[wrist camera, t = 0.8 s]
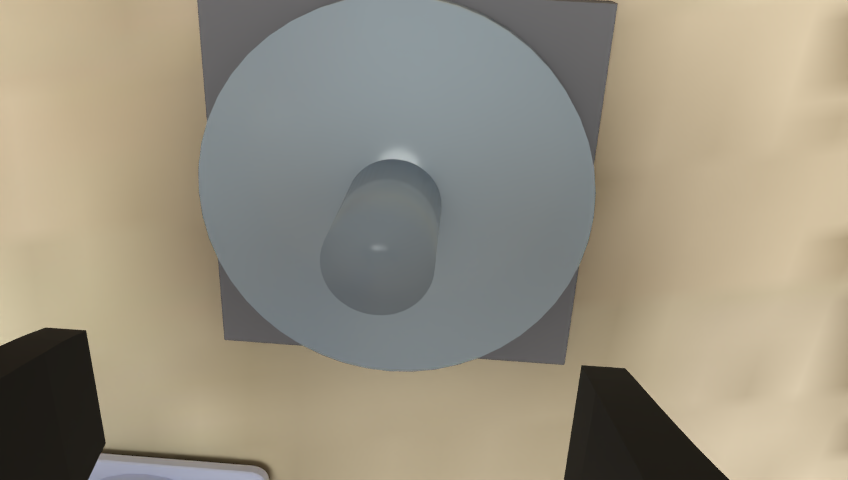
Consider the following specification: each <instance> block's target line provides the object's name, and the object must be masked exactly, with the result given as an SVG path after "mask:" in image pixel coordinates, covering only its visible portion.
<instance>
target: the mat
mask: <svg viewBox="0 0 848 480" xmlns="http://www.w3.org/2000/svg"><path fill="white" fill-rule="evenodd" d="M336 1H340V0H197V2H198V15H199V27H200V40H201V52H202V65H203V77H204V90H205V102H206V115H207V121H208V118H209V116H210V113H211V111H212V109H213V106H214V104H215V102H216V99H217V97H218V95H219V93H220V92H221V90H222V89H223V87H224V85H225V84H226V82H227V80H228V79H229V77H230V76H231V74H232V73H233V72H234V70H235V69H236V68H237V67H238V66H239V64H240V63H241V62H242V61H243V60H244V58H245V57H246V56H247V55H248V54H249V53H250V52H251V51H252V50H253V49H254V48H256V47H257V46H258V45H259V44H260V43H261V42H262V41H263V40H265V39H266V38H267V37H268V36H269V35H271V34H272V33H274V32H275V31H277V30H278V29H280V28H282V27H283V26H285V25H286V24H288V23H289V22H291V21H292V20H294V19H296V18H298V17H300V16H302V15H304V14H306V13H309V12H311V11H313V10H315V9H317V8H319V7H321V6H323V5H326V4H330V3H333V2H336ZM448 1H452V2H456V3H459V4H461V5H464V6H466V7H469V8H471V9H473V10H476V11H478V12H481V13H483V14H485V15H487V16H488V17H490V18H492V19H493V20H495V21H497V22H498V23H500V24H502V25H504V26H505V27H507V28H508V29H510V30H511V31H512V32H513V33H515V34H516V35H517V36H518V37H520V38H521V39H522V40H524V41H525V42H526V43H527V44H529V45H530V46H531V48H532V49H533V50H534V51H535V52H536V53H537V54H538V55H539V56H540V57H541V58H542V59H543V60H544V61H545V62H546V63H547V64H548V66H549V67H550V68H551V70H552V71H553V73H554V74H555V75H556V77H557V78H558V80H559V81H560V82H561V84H562V85H563V87H564V89H565V90H566V92H567V94H568V96H569V98H570V100H571V102H572V104H573V105H574V107H575V109H576V111H577V113H578V115H579V117H580V119H581V122H582V125H583V128H584V130H585V133H586V136H587V139H588V142H589V146H590V151H591V155H592V160H593V165H594V160H595V153H596V146H597V139H598V133H599V126H600V119H601V112H602V105H603V99H604V92H605V85H606V78H607V72H608V65H609V58H610V51H611V44H612V38H613V31H614V24H615V17H616V10H617V3H615V2H613V1H595V0H448ZM218 264H219V277H220V289H221V301H222V314H223V326H224V339H225V340H234V341H247V342H261V343H274V344H288V345H301V344H299V343H298V342H296V341H295V340H293V339H291V338H290V337H288V336H287V335H285V334H284V333H282V332H280V331H279V330H278V329H277V328H275V327H274V326H273V325H272V324H271V323H269V322H268V321H267V320H266V319H264V318H263V317H262V316H261V315H260V314H259V313H258V312H257V311H256V310H255V309H254V308H253V307H252V306H251V305H250V304H249V303H248V302H247V301H246V300H245V298H244V297H243V296H242V294H241V293H240V292H239V291H238V289H237V288H236V287H235V285H234V284H233V283H232V282H231V280H230V278H229V277H228V275H227V273H226V272H225V270H224V268H223V267H222V265H221V263H220V262H219V260H218ZM578 269H579V266H578V268H577V270H576V272H575V274H574V276H573V277H572V279H571V281H570V283H569V285H568V286H567V288H566V289H565V290H564V292H563V293H562V294H561V296H560V297H559V298H558V300H557V301H556V303H555V304H554V305H553V306H552V307H551V308H550V309H549V310H548V311H547V312H546V313H545V314H544V315H543V317H542V318H541V319H540V320H539V321H538V322H536V323H535V324H534V325H533V326H531V327H530V328H529V329H528V330H526V331H525V332H524V333H523V334H522V335H520V336H519V337H517V338H515V339H514V340H512V341H511V342H509V343H507V344H506V345H504V346H503V347H501V348H499V349H497V350H495V351H493V352H490V353H488V354H486V355H484V356H482V357H480V358H478V359H491V360H505V361H518V362H532V363H546V364H559V365H564V364H565V357H566V350H567V343H568V337H569V330H570V323H571V316H572V309H573V303H574V296H575V289H576V282H577V275H578ZM301 346H303V345H301Z"/></svg>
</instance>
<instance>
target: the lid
mask: <svg viewBox="0 0 848 480" xmlns="http://www.w3.org/2000/svg"><path fill="white" fill-rule="evenodd" d="M595 194H596V192H595V175H594V165H593V160H592V155H591V151H590V146H589V142H588V139H587V136H586V133H585V130H584V128H583V125H582V122H581V119H580V117H579V115H578V113H577V111H576V109H575V107H574V105H573V104H572V102H571V100H570V98H569V96H568V94H567V92H566V90H565V89H564V87H563V85H562V84H561V82H560V81H559V80H558V78H557V77H556V75H555V74H554V73H553V71H552V70H551V68H550V67H549V66H548V64H547V63H546V62H545V61H544V60H543V59H542V58H541V57H540V56H539V55H538V54H537V53H536V52H535V51H534V50H533V49H532V48H531V46H530V45H529V44H527V43H526V42H525V41H524V40H522V39H521V38H520V37H518V36H517V35H516V34H515V33H513V32H512V31H511V30H510V29H508V28H507V27H505V26H504V25H502V24H500V23H498V22H497V21H495V20H493V19H492V18H490V17H488V16H487V15H485V14H483V13H481V12H478V11H476V10H473V9H471V8H469V7H466V6H464V5H461V4H459V3H456V2H452V1H448V0H340V1H336V2H333V3H330V4H326V5H323V6H321V7H319V8H317V9H315V10H313V11H311V12H309V13H306V14H304V15H302V16H300V17H298V18H296V19H294V20H292V21H291V22H289V23H288V24H286V25H285V26H283V27H282V28H280V29H278V30H277V31H275V32H274V33H272V34H271V35H269V36H268V37H267V38H266V39H265V40H263V41H262V42H261V43H260V44H259V45H258V46H257V47H256V48H254V49H253V50H252V51H251V52H250V53H249V54H248V55H247V56H246V57H245V58H244V60H243V61H242V62H241V63H240V64H239V66H238V67H237V68H236V69H235V70H234V72H233V73H232V74H231V76H230V77H229V79H228V80H227V82H226V84H225V85H224V87H223V89H222V90H221V92H220V93H219V95H218V97H217V99H216V102H215V104H214V106H213V109H212V111H211V113H210V116H209V118H208V121H207V125H206V128H205V132H204V136H203V139H202V143H201V151H200V160H199V195H200V202H201V208H202V215H203V219H204V222H205V225H206V229H207V232H208V236H209V239H210V241H211V244H212V246H213V248H214V250H215V253H216V255H217V257H218V260H219V262H220V263H221V265H222V267H223V268H224V270H225V272H226V273H227V275H228V277H229V278H230V280H231V282H232V283H233V284H234V285H235V287H236V288H237V289H238V291H239V292H240V293H241V294H242V296H243V297H244V298H245V300H246V301H247V302H248V303H249V304H250V305H251V306H252V307H253V308H254V309H255V310H256V311H257V312H258V313H259V314H260V315H261V316H262V317H263V318H264V319H266V320H267V321H268V322H269V323H271V324H272V325H273V326H274V327H275V328H277V329H278V330H279V331H280V332H282V333H284V334H285V335H287V336H288V337H290V338H291V339H293V340H295V341H296V342H298V343H299V344H301V345H303V346H305V347H307V348H309V349H311V350H313V351H315V352H317V353H319V354H321V355H324V356H327V357H329V358H332V359H335V360H338V361H340V362H343V363H347V364H351V365H356V366H360V367H364V368H370V369H377V370H385V371H423V370H434V369H439V368H444V367H449V366H454V365H458V364H461V363H464V362H468V361H471V360H474V359H477V358H480V357H482V356H484V355H486V354H488V353H490V352H493V351H495V350H497V349H499V348H501V347H503V346H504V345H506V344H507V343H509V342H511V341H512V340H514V339H515V338H517V337H519V336H520V335H522V334H523V333H524V332H525V331H526V330H528V329H529V328H530V327H531V326H533V325H534V324H535V323H536V322H538V321H539V320H540V319H541V318H542V317H543V315H544V314H545V313H546V312H547V311H548V310H549V309H550V308H551V307H552V306H553V305H554V304H555V303H556V301H557V300H558V298H559V297H560V296H561V294H562V293H563V292H564V290H565V289H566V288H567V286H568V285H569V283H570V281H571V279H572V277H573V276H574V274H575V272H576V270H577V268H578V266H579V264H580V262H581V259H582V257H583V254H584V251H585V249H586V246H587V243H588V240H589V236H590V231H591V227H592V223H593V218H594V206H595Z"/></svg>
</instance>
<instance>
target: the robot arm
mask: <svg viewBox="0 0 848 480" xmlns="http://www.w3.org/2000/svg"><path fill="white" fill-rule="evenodd" d="M105 443H106V442H105V437H104V431H103V425H102V419H101V414H100V408H99V402H98V396H97V391H96V385H95V379H94V373H93V368H92V362H91V356H90V350H89V345H88V339H87V333H86V330H71V329H57V328H43V329H41V330H38V331H35V332H32V333H30V334H27V335H25V336H22V337H20V338H18V339H15V340H13V341H11V342H8V343H6V344H4V345H2V346H0V480H269V477H268V474H267V473H266V471H265V470H263V469H262V468H260V467H257V466H251V465H239V464H227V463H214V462H202V461H189V460H177V459H165V458H152V457H140V456H128V455H115V454H103V453H101V452H102V450H103V447H104V445H105ZM564 480H729V479H728V478H727V477H726V476H725V475H724V474H723V473H722V472H721V471H720V470H719V469H718V468H717V467H716V466H715V465H714V464H713V463H712V462H711V461H710V460H709V459H708V458H707V457H706V456H705V455H704V454H703V453H702V452H701V451H700V450H699V449H698V448H697V447H696V446H695V445H694V444H693V443H692V441H691V440H690V439H689V438H688V437H687V436H686V435H685V434H684V433H683V432H682V431H681V430H680V429H679V428H678V426H677V425H676V424H675V423H674V422H673V421H672V420H671V419H670V418H669V417H668V415H667V414H666V413H665V412H664V411H663V410H662V409H661V408H660V407H659V406H658V404H657V403H656V402H655V401H654V400H653V399H652V398H651V397H650V395H649V394H648V393H647V392H646V391H645V390H644V389H643V388H642V386H641V385H640V384H639V383H638V382H637V381H636V380H635V379H634V377H633V376H632V375H631V374H630V373H629V372H628V371H627V370H626V369H625V368H612V367H597V366H583V365H582V366H581V373H580V379H579V386H578V392H577V399H576V405H575V412H574V418H573V425H572V431H571V438H570V444H569V451H568V457H567V464H566V470H565V477H564Z"/></svg>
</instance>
